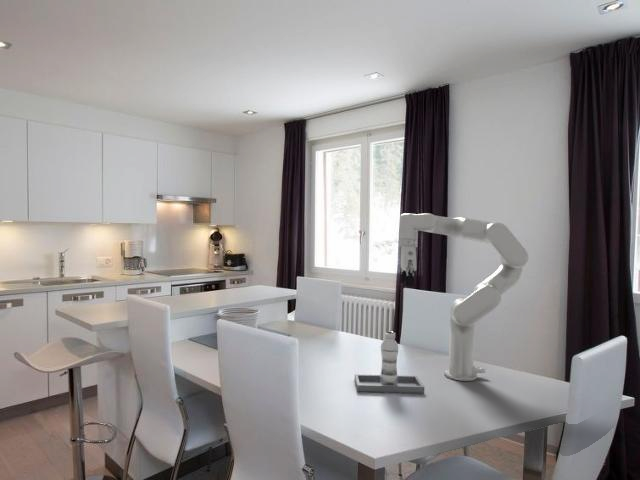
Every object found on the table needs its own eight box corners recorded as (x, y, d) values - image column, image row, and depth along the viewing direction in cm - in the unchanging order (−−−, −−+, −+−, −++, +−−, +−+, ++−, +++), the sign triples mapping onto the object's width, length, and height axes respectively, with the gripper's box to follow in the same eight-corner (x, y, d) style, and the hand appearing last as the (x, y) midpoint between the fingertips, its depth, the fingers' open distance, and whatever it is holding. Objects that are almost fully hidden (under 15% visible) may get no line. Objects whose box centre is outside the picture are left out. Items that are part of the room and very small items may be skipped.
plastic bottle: (397, 390, 159) (399, 335, 159) (378, 388, 160) (380, 334, 160) (398, 384, 165) (399, 331, 165) (379, 382, 167) (381, 330, 166)
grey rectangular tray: (416, 382, 170) (416, 375, 170) (424, 394, 158) (424, 386, 158) (354, 381, 170) (354, 374, 169) (357, 392, 158) (357, 385, 157)
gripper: (422, 244, 174) (420, 287, 174) (412, 243, 191) (411, 282, 192) (403, 243, 174) (402, 286, 174) (395, 242, 191) (394, 281, 192)
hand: (406, 284), depth 183 cm, fingers open, 9 cm apart
